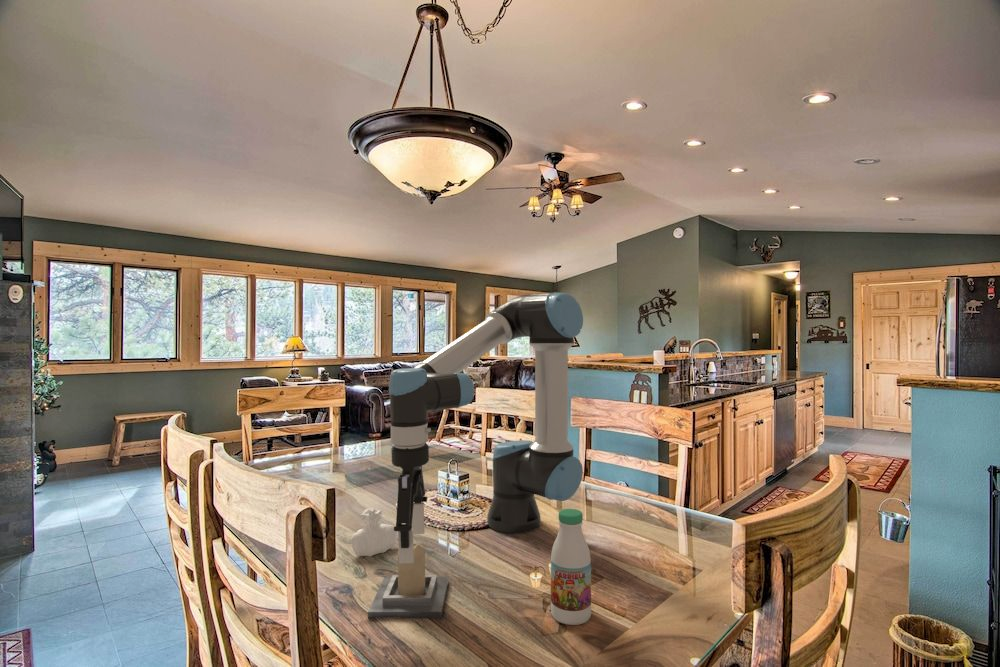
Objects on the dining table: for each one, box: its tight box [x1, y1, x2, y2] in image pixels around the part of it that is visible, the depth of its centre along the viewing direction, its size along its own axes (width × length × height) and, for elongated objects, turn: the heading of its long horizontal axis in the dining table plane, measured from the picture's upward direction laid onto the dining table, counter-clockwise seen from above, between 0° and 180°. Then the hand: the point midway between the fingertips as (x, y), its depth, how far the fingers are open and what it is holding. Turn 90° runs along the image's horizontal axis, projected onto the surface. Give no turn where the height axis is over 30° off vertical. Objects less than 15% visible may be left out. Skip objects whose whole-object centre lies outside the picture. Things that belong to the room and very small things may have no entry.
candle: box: [397, 542, 426, 595], centre depth 106 cm, size 6×6×10 cm
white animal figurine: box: [349, 507, 398, 557], centre depth 130 cm, size 12×8×11 cm
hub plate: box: [367, 574, 450, 619], centre depth 106 cm, size 14×14×3 cm
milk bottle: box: [550, 508, 592, 626], centre depth 100 cm, size 8×8×20 cm
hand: (412, 547), depth 106 cm, fingers open, 13 cm apart
